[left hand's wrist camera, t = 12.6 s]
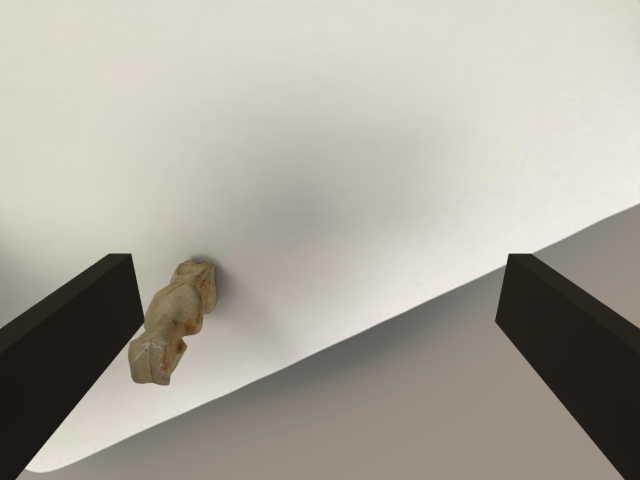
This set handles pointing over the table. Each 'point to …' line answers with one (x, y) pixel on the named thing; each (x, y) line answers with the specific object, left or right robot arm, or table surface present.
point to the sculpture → (172, 322)
